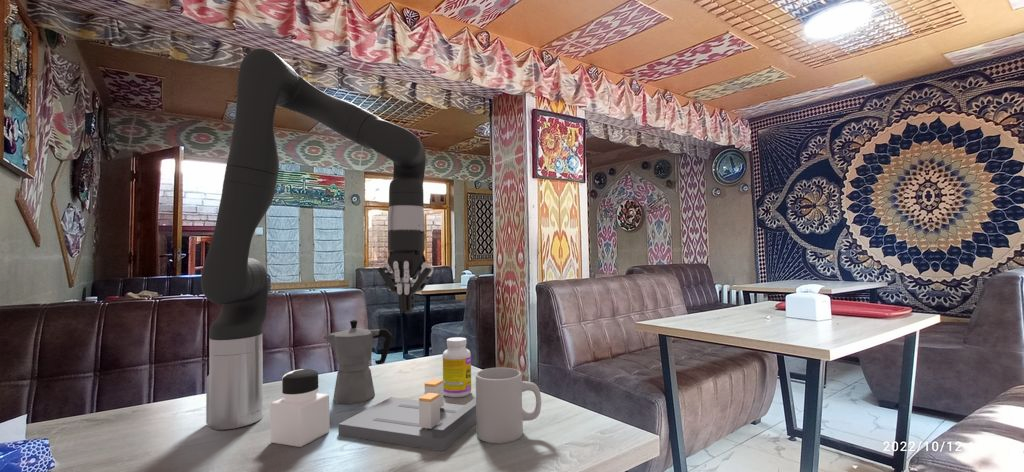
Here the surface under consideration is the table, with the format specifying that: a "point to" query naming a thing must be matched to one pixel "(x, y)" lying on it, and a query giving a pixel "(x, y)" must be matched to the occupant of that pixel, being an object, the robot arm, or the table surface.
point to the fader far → (435, 389)
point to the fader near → (429, 410)
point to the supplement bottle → (456, 368)
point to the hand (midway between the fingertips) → (406, 312)
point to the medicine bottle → (299, 410)
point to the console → (410, 424)
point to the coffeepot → (356, 362)
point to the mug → (502, 404)
